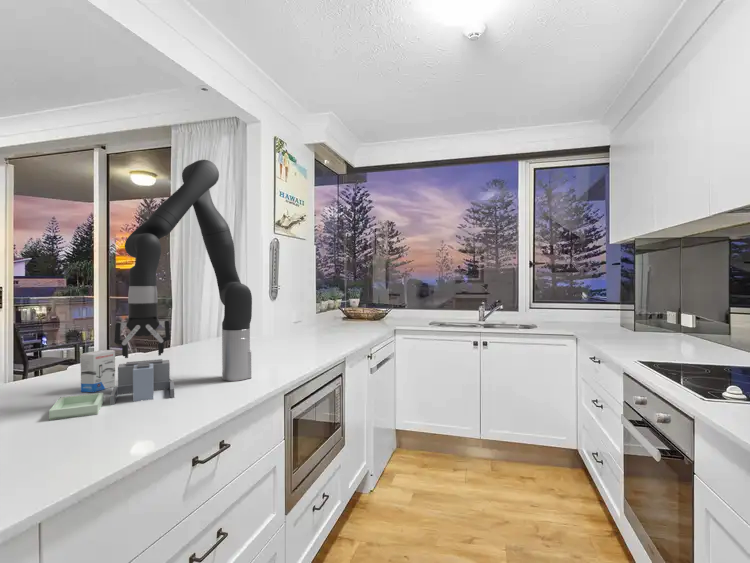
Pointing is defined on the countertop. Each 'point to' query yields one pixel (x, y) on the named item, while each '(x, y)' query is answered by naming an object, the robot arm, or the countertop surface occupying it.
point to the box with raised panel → (143, 382)
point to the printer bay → (159, 378)
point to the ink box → (97, 370)
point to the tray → (76, 406)
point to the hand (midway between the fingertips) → (143, 356)
